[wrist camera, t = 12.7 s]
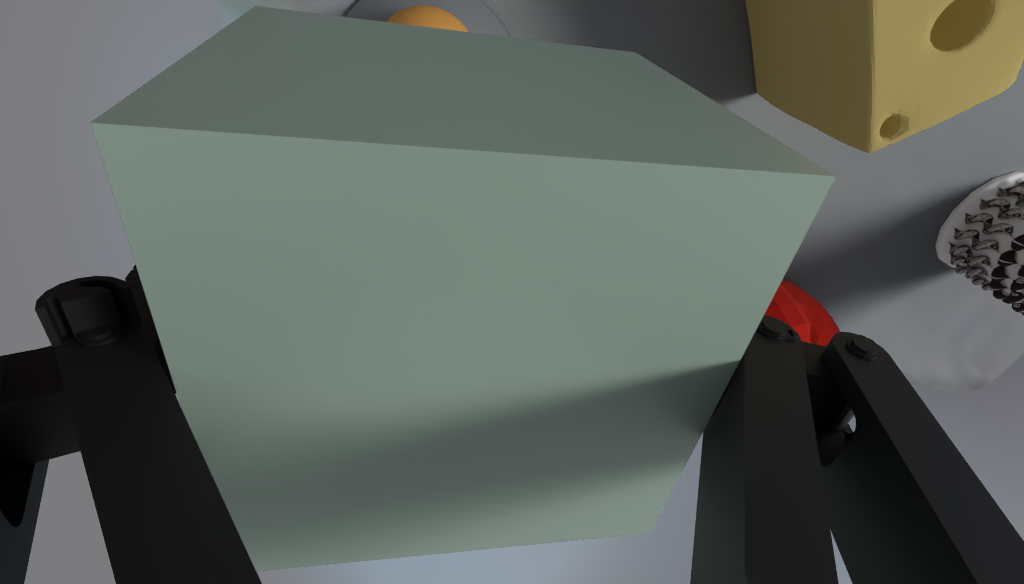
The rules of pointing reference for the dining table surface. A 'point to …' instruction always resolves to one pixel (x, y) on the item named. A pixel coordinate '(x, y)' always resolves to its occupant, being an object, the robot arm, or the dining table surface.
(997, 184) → the decorative candle
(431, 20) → the ball
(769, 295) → the sage green cube
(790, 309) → the tomato
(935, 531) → the robot arm
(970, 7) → the cheese
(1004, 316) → the dining table surface
